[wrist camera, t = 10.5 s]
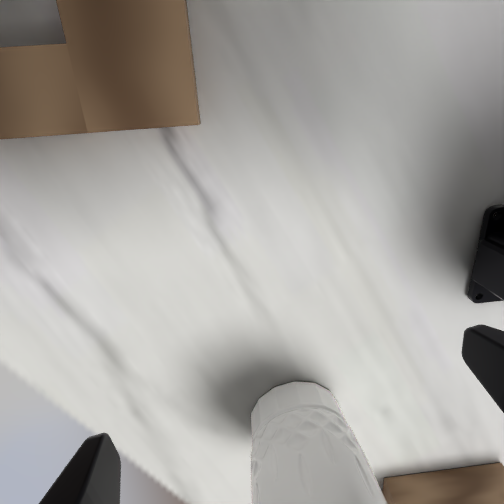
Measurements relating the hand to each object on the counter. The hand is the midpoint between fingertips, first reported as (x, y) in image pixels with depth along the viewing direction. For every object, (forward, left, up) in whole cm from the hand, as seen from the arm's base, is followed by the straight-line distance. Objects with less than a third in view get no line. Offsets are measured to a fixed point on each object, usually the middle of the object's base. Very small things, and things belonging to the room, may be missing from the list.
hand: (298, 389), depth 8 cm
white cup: (-2, +15, -13) cm, 20 cm away
